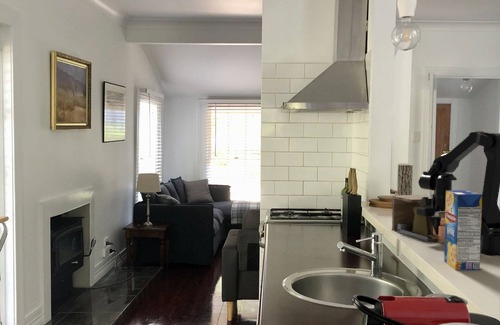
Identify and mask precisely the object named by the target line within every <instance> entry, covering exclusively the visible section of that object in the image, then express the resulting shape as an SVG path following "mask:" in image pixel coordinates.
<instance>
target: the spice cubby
mask: <svg viewBox="0 0 500 325" xmlns="http://www.w3.org/2000/svg"><path fill="white" fill-rule="evenodd" d="M423 197H428V198H429V199H431V198H432V197H429V196H425V195H419V194H412V195H401V196H397V195H392V204H391V205H392V210H391V211H392V212H391V215H392V216H391V217H392V219H391V220H392V221H391V230H392V231H398V223H414V217H415V213H414V211H413V209H414V207H415V206H422V203H421V201H422V198H423ZM425 207H426V206H425ZM426 222H427V230H428V234H432V235H433V225H432V222H431V220H430V219H429V217H426Z"/></svg>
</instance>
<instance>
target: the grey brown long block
mask: <svg viewBox="0 0 500 325" xmlns="http://www.w3.org/2000/svg"><path fill="white" fill-rule="evenodd" d="M412 229H413V223H398V230H397V233H399V234H401V235H402V234H403V235H405V236H409V237H412V238H414V239H418V240H422V241H424V242H430V241H431V243H433V242H434V241H435V242H438V243H439V244H445V217H441V222H440V226H439V234H438V235H437V234H436V233H435V230H434V227H433V234H432V236H431V235H430V236H429V235H428V234H427V235H423V234H420V233H416V232H413V231H412ZM435 242H434V243H435Z"/></svg>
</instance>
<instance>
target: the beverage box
mask: <svg viewBox="0 0 500 325" xmlns="http://www.w3.org/2000/svg"><path fill="white" fill-rule="evenodd" d="M444 214H445V215H444V218H445V243H444V253H443V255H444V256H443V258H444V259H443V260H444V263H446V264H447V265H448V266H450V268H452V269H454V270H455V271H481V252H480V251H481V215H482V193H478V192H475V191H471V190H453V189H452V190H446V210H445V213H444Z"/></svg>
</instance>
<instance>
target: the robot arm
mask: <svg viewBox="0 0 500 325" xmlns="http://www.w3.org/2000/svg"><path fill="white" fill-rule="evenodd" d="M479 146H480V147H483V153H484V156H485V157H486V165H485V171H484V178H483V187H482V193H481V194H482V215H481V251H480V254H484V255H487V256H494V255H495V256H496V255H500V206H499V204H498V202H499V201H498V200H499V195H500V133H497V132H496V133H495V132H494V133H491V132H486V131H481V130H479V131H478V130H474V131H471V132H469V133H468V135H467V136H466V137H465V138H464V139H463V140H462V141H460V142H459V143H458V144H457V145H456V146H455V147H454V148H452V149H451V150H450V151H449V152H447V153H445V154H442V155H439V156H437V157H436V158H434V160H433V161H432V164H431V165H430V168H429V170H428V171H422V175H421V176H420V177H419V179H418V180H417V181H418V186H419V187H420V189H422V190H426V191H427V190H429V191H434V193H433V194H432V197H431V199H429V198H428V197H429V196H426V197H423V198H422V201H421V203H422V206H426V207H418V209H417V215H421V216H426V217H429V219H430V220H431V222H432V225H433V227H434V230H435V233H436V234H437V235H438V234H439V226H440V222H441V218H442V216H440V215H439V214H444V215H443V216H445V210H446V190H453V181H457V180H458V178H457V177H456V176H454V174H453V173H454V172H456V170H457V169H458V167H459V166H460V162H461V161H462V160H463V159H465V158H466V157H467V156H468V155H470V154H471V153H472V152H473V151H474V150H475V149H477V147H479Z"/></svg>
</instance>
